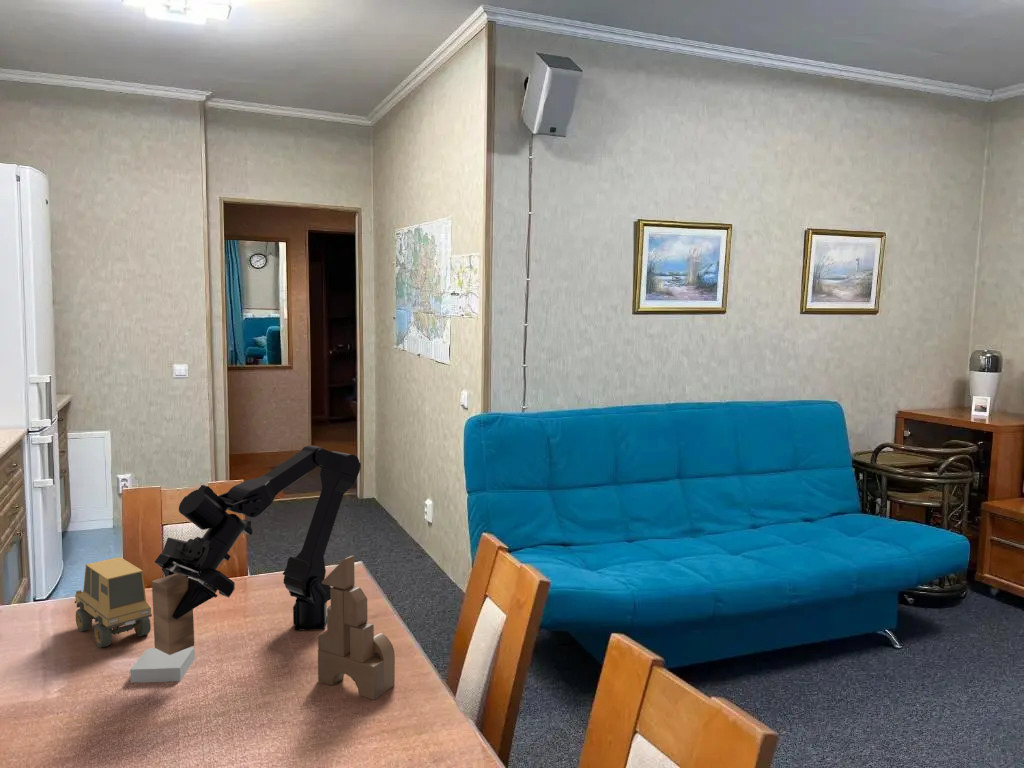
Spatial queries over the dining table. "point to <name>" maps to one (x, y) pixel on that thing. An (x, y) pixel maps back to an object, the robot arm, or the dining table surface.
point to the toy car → (112, 600)
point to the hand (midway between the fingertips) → (166, 614)
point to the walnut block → (167, 629)
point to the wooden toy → (353, 639)
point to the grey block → (162, 666)
